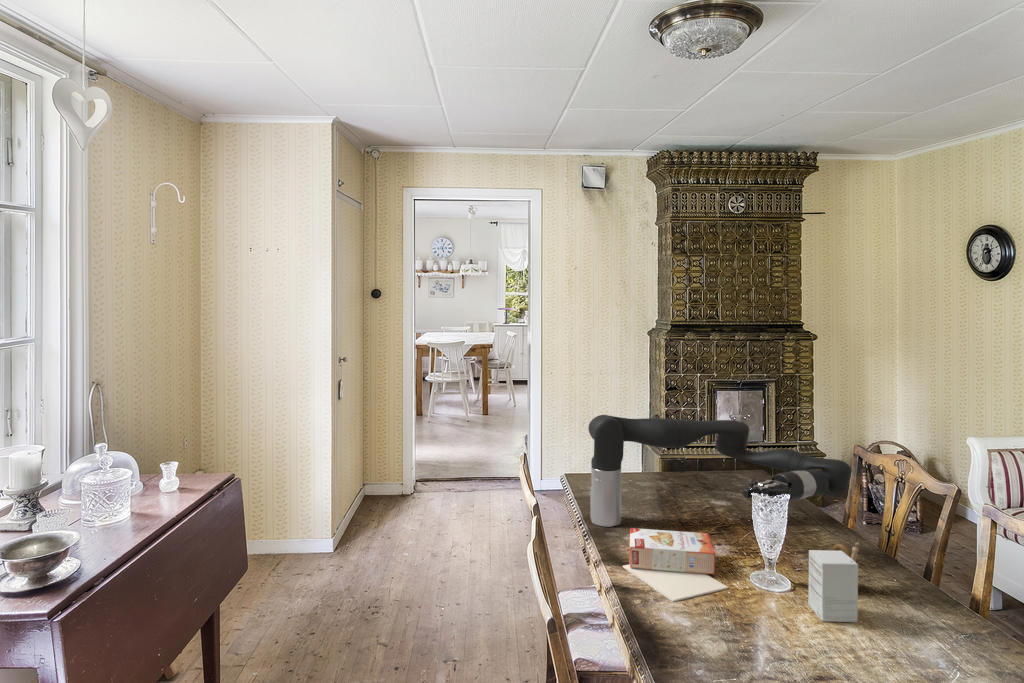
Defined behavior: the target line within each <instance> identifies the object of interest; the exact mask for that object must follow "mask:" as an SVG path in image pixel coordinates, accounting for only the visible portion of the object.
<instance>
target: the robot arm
mask: <svg viewBox="0 0 1024 683" xmlns="http://www.w3.org/2000/svg"><path fill="white" fill-rule="evenodd" d="M588 433H589V435H590V437H591V438H592V440H593V441H594V442H593V443H594V444H593V456H592V457H591V462H590V463H591V465H590V466H591V468H590V469H591V470H590V472H591V475H590V476H591V477H590V478H591V479H590V480H591V488H590V490H589V493H590V494H589V497H590V500H589V502H590V503H589V507H590V509H589V510H590V511H589V512H590V513H589V514H590V516H589V517H590V518H589V519H590V520H591V522H592V524H593V525H596V526H598V527H599V526H600V527H608V528H609V527H614V526H619V525H621V523H622V462H623V460H624V446H625V445H624V444H625V443H624V442H633V443H637V444H642V445H645V446H651V447H656V448H661V449H662V448H663V449H682V448H685V447H688V446H690V445H691V444H693V443H695V442H697V441H699V440H701V439H702V438H704V437H706V436H707V437H708V436H711V435H716V441H715V449H716V451H717V452H718V453H720V454H721V455H724V456H726V457H729V458H732V459H736V460H740V461H744V462H746V463H747V462H748V463H751V464H755V465H759V466H764V467H768V468H772V469H775V470H778V471H782V472H778V473H776V474H774V475H773V476H772V477H771V479H766V480H763V481H761V482H759V481H758V480H757V479H756V478H751V480H750V483H749V487H746V488H744V489H743V494H742V495H743V496H742V497H744V498H745V499H746V498H747V499H752V495H751V493H753V492H754V493H759V494H761V493H763V494H768V495H769V496H776V495H781V494H789V495H790V500H789V501H788V502H791V501H797V500H803V499H806V498H809V497H813V496H827V497H831V498H837V499H840V498H842V497H844V496H845V495H846V494H847V492H848V489H849V485H850V481H851V476H852V472H853V471H852V468H851V466H850V465H849V464H848V463H847V462H845V461H844V460H841V459H837V458H825V457H824V458H821V457H817V456H816V457H815V456H812V455H808V454H805V453H801V452H799V451H797V450H793V449H790V448H776V449H775V448H774V449H771V450H765V451H752V450H749V449H747V445H748V441H749V435H750V427H749V425H748V424H747V423H746V422H743V421H739V420H735V419H734V420H732V419H731V420H730V419H716V420H691V419H679V418H677V419H676V418H655V417H654V418H653V417H652V418H627V417H620V416H619V417H618V416H613V415H608V414H600V415H597V416H595V417H593V418H592V419H591V420H590V422H589V424H588ZM751 488H752V489H751ZM750 489H751V490H750Z"/></svg>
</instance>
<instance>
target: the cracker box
mask: <svg viewBox="0 0 1024 683" xmlns="http://www.w3.org/2000/svg"><path fill="white" fill-rule="evenodd" d="M628 543H629V552H628V553H629V555H628V556H629V564H630V568H641V569H653V570H665V571H678V572H690V573H703V574H706V575H715V574H716V552H715V549H714V547H713V543H712V541H711V537H710V535H709V533H707V532H693V531H677V530H665V529H664V530H663V529H662V530H661V529H649V528H635V527H630V529H629V542H628Z"/></svg>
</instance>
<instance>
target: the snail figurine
mask: <svg viewBox="0 0 1024 683" xmlns="http://www.w3.org/2000/svg"><path fill="white" fill-rule="evenodd" d="M859 545H860V542H855V546H853V547H852V548H851V550H850V549H849V547H847V545H845V544H843V543H840V542H839V543H835V544H833V547H832V551H843V552H844V553H845V554H846V555H848V556H849V557H850V558H851V559H852V560H854V561H855V562H856V561H857V558H858V553H859V551H860V550H859ZM851 551H852V552H851Z"/></svg>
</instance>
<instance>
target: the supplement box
mask: <svg viewBox="0 0 1024 683" xmlns="http://www.w3.org/2000/svg"><path fill="white" fill-rule="evenodd" d="M858 592H859V564H858V563H857V562H856V561H854V560H852V559H851V558H850V557H849V556H848V555H846V554H845V553H844V552H843V551H833V550H826V549H825V550H818V549H809V550H808V595H807V596H808V598H807V599H808V601H807V603H808V606H809V607H810V608H811V609H812V611H813V612H814V613H815V615H816V616H817V617H818V618H819V619H820V620H821V622H839V623H858V618H859V616H858V607H859V606H858V605H859V604H858V602H859V601H858V599H859V598H858V596H859V593H858Z"/></svg>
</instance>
